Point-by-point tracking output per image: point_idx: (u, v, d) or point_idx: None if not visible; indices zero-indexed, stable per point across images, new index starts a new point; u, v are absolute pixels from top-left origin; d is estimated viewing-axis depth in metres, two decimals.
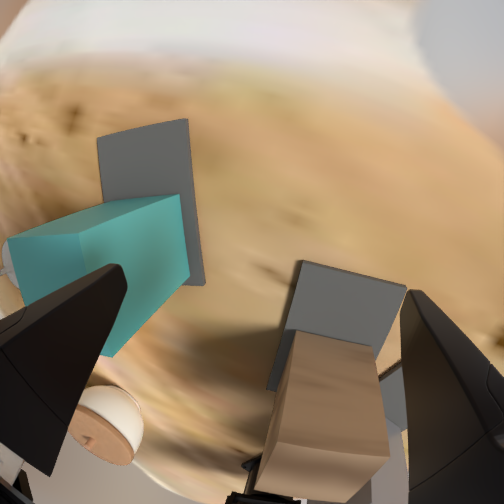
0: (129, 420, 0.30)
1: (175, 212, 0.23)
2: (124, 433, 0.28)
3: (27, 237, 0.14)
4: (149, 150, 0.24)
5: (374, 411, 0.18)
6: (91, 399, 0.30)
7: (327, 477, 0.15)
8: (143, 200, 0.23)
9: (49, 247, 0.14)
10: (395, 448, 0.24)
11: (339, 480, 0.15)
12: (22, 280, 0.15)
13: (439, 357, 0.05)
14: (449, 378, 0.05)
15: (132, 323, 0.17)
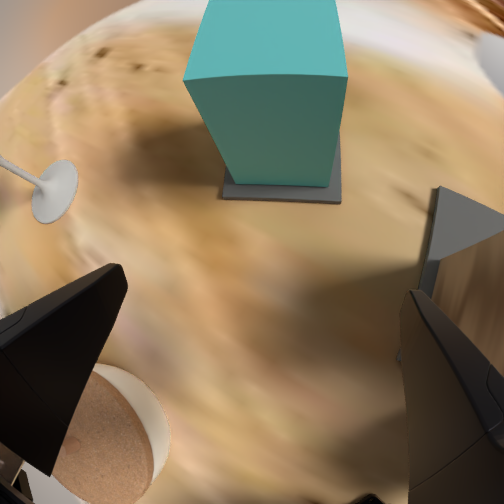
0: (159, 420, 0.17)
1: None
2: (149, 434, 0.15)
3: None
4: None
5: None
6: (102, 367, 0.18)
7: None
8: None
9: None
10: None
11: None
12: (212, 23, 0.12)
13: (439, 357, 0.05)
14: (449, 378, 0.05)
15: None
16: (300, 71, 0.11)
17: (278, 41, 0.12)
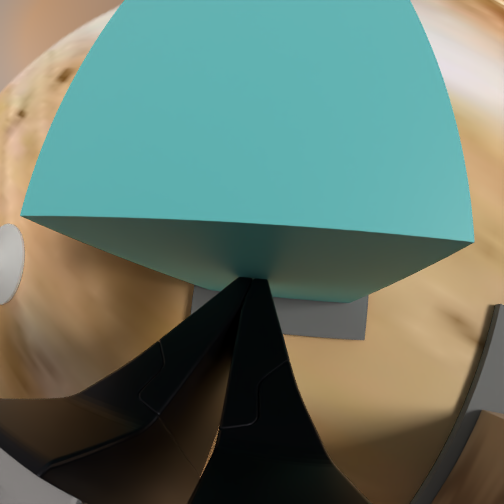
0: None
1: None
2: None
3: None
4: None
5: None
6: None
7: None
8: None
9: None
10: None
11: None
12: (115, 36, 0.05)
13: None
14: None
15: None
16: (324, 212, 0.03)
17: (258, 77, 0.04)
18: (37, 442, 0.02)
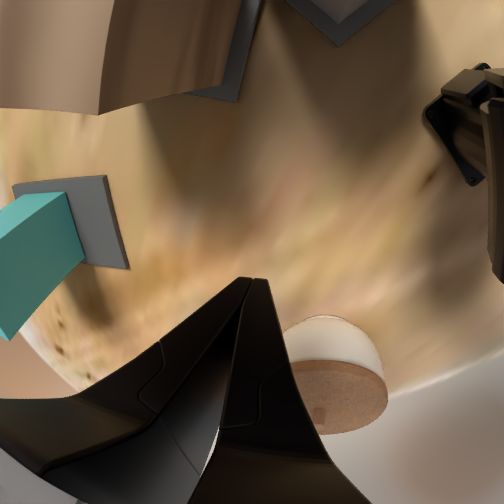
0: (300, 338, 0.22)
1: (22, 198, 0.24)
2: (302, 357, 0.20)
3: None
4: None
5: None
6: None
7: None
8: None
9: None
10: None
11: None
12: None
13: None
14: None
15: None
16: None
17: None
18: (37, 442, 0.02)
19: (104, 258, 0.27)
